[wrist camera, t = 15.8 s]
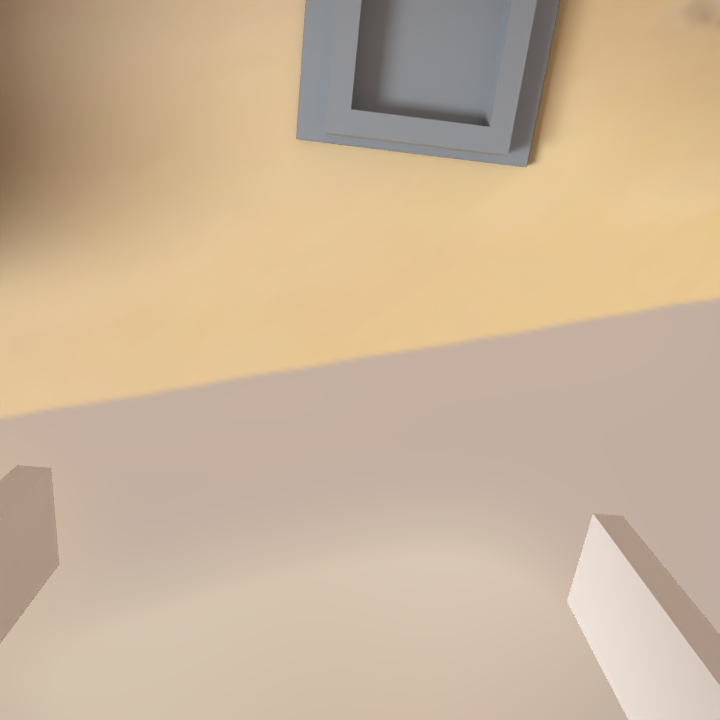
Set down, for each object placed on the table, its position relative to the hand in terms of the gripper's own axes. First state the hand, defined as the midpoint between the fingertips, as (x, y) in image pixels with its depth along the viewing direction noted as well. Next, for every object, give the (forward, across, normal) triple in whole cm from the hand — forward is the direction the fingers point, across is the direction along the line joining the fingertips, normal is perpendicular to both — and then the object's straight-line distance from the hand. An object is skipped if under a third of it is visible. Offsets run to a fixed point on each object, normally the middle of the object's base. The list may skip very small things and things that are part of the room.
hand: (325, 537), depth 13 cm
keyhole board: (+29, +4, +20) cm, 35 cm away
